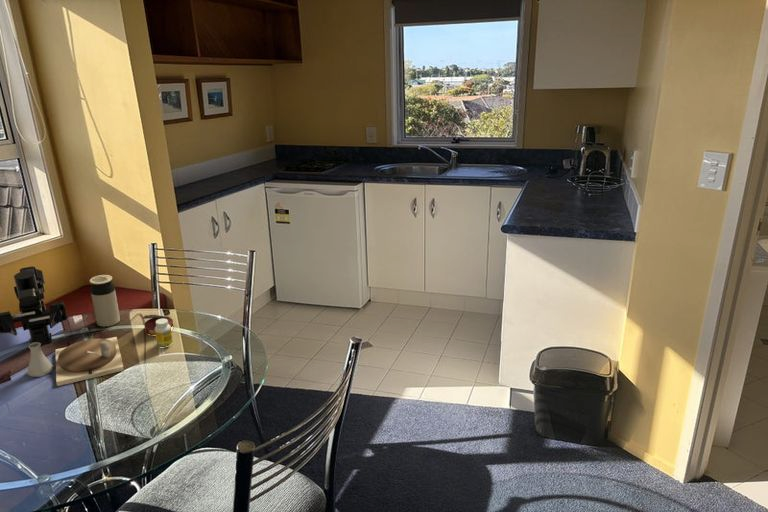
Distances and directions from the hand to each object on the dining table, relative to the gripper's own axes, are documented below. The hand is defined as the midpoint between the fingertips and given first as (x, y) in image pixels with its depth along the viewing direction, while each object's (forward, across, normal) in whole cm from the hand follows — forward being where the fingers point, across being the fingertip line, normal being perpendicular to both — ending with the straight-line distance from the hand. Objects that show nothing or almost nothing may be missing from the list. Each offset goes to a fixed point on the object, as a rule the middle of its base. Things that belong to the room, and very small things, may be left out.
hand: (33, 330), depth 169 cm
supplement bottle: (0, +37, +17) cm, 41 cm away
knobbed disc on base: (-1, +13, +15) cm, 20 cm away
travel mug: (-27, +22, +20) cm, 40 cm away
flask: (-3, -1, +18) cm, 18 cm away
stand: (-1, +13, +17) cm, 22 cm away
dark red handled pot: (-12, +38, +18) cm, 44 cm away
